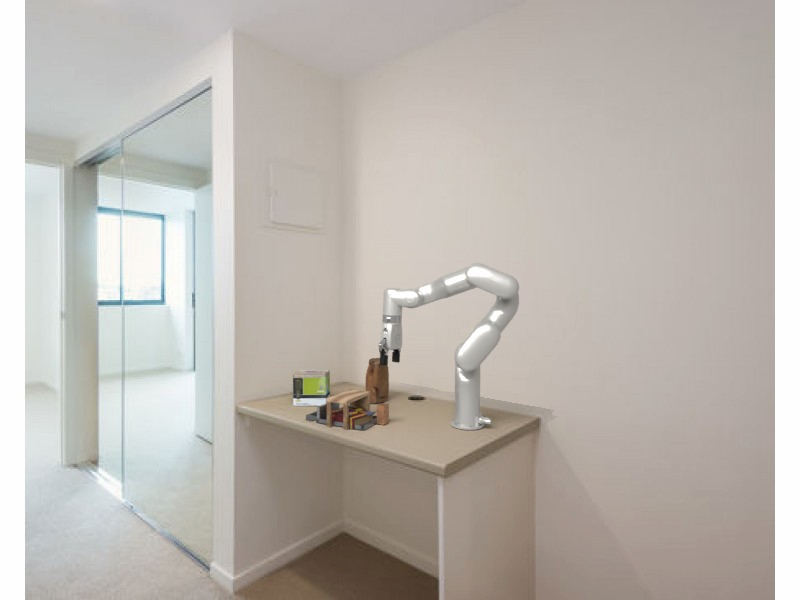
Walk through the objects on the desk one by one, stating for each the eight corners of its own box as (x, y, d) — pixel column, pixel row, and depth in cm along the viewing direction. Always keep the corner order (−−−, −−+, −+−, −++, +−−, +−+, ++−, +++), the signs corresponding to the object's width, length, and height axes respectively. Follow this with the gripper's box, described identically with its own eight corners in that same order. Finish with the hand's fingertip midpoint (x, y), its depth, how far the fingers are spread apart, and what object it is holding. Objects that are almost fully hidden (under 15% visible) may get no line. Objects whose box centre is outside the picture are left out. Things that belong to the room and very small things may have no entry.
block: (378, 398, 203) (378, 356, 202) (390, 400, 198) (390, 358, 198) (363, 402, 194) (363, 359, 194) (375, 405, 189) (375, 360, 189)
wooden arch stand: (369, 417, 170) (369, 391, 170) (346, 429, 155) (347, 401, 155) (350, 415, 174) (350, 389, 174) (326, 426, 159) (326, 398, 159)
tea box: (330, 401, 197) (330, 369, 197) (326, 406, 187) (326, 373, 187) (298, 400, 198) (298, 369, 198) (292, 406, 188) (292, 373, 187)
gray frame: (334, 415, 174) (334, 410, 174) (318, 422, 164) (318, 417, 164) (322, 413, 176) (322, 408, 176) (305, 420, 167) (305, 415, 167)
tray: (389, 421, 164) (389, 403, 164) (372, 431, 152) (372, 412, 152) (337, 413, 175) (337, 396, 175) (316, 422, 163) (316, 404, 163)
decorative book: (353, 430, 155) (353, 417, 155) (324, 422, 165) (324, 409, 165) (374, 423, 163) (374, 410, 163) (346, 415, 174) (346, 403, 174)
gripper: (389, 321, 155) (387, 367, 156) (410, 320, 171) (408, 362, 171) (372, 320, 159) (370, 365, 159) (394, 318, 174) (392, 360, 174)
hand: (389, 363), depth 165 cm, fingers open, 9 cm apart
